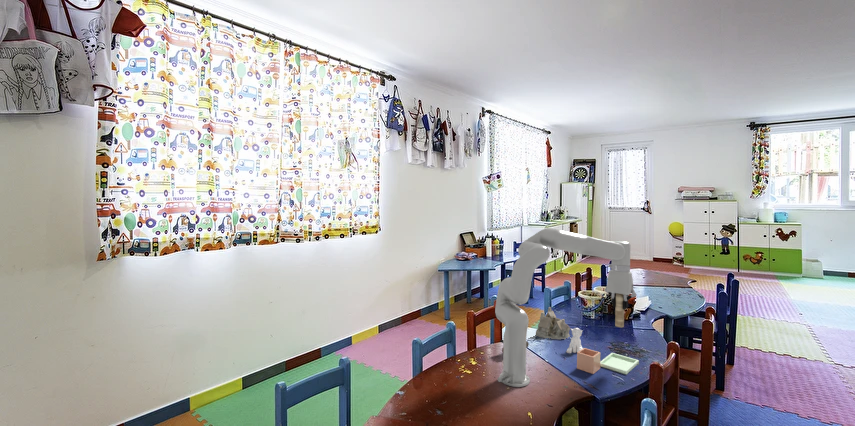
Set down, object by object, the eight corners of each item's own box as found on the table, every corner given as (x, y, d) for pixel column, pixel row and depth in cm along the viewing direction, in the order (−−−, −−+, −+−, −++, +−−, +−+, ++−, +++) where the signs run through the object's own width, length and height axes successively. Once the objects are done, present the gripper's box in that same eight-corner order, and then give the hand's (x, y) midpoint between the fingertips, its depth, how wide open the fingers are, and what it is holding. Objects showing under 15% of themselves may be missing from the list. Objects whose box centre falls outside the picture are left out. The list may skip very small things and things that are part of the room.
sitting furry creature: (566, 354, 189) (566, 330, 188) (564, 347, 197) (564, 324, 196) (587, 356, 186) (587, 332, 186) (584, 349, 195) (584, 326, 194)
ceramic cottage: (531, 333, 217) (533, 307, 216) (552, 329, 225) (554, 304, 224) (552, 344, 203) (554, 317, 202) (573, 339, 211) (576, 313, 210)
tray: (626, 375, 166) (626, 371, 166) (598, 367, 175) (598, 362, 175) (638, 364, 177) (638, 360, 177) (611, 356, 186) (612, 352, 186)
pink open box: (593, 375, 167) (593, 357, 166) (576, 369, 172) (577, 352, 172) (600, 369, 172) (600, 352, 172) (584, 364, 177) (584, 347, 177)
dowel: (622, 327, 172) (622, 295, 172) (613, 326, 175) (614, 293, 174) (625, 326, 175) (625, 293, 174) (616, 324, 178) (617, 292, 177)
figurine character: (518, 349, 198) (498, 354, 189) (519, 335, 198) (499, 338, 189) (528, 354, 193) (508, 358, 184) (529, 339, 193) (509, 342, 184)
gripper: (598, 267, 177) (598, 305, 178) (637, 272, 165) (636, 313, 166) (605, 264, 182) (604, 302, 183) (643, 269, 170) (642, 310, 171)
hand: (619, 307), depth 175 cm, fingers closed on dowel, 3 cm apart
